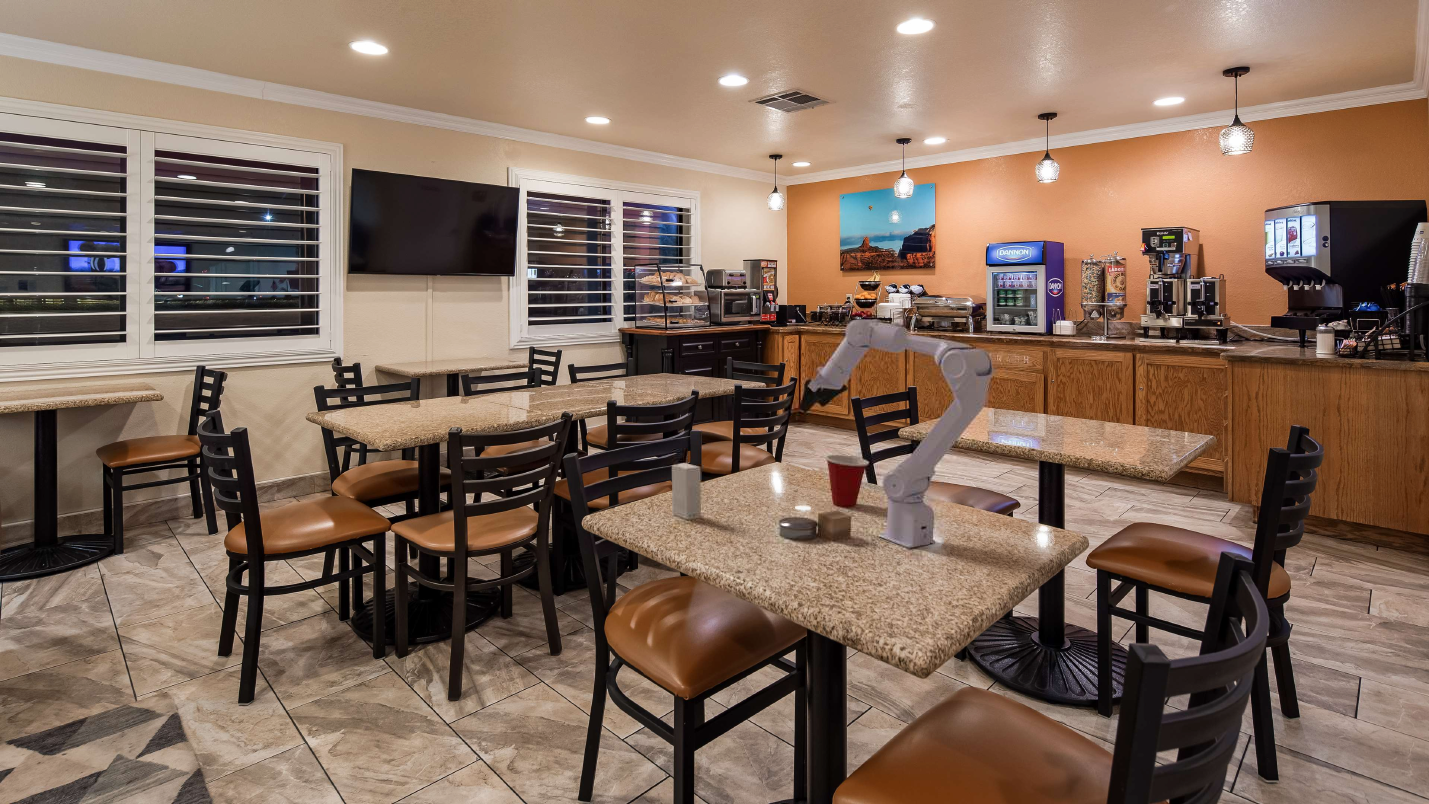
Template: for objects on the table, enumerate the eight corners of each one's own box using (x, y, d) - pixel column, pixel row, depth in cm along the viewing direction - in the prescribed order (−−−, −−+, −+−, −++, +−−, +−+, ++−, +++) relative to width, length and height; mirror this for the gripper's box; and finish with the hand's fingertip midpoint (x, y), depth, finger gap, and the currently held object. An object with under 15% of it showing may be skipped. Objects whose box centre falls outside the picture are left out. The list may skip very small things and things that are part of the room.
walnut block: (850, 538, 160) (851, 516, 160) (832, 542, 158) (833, 519, 157) (835, 532, 164) (836, 510, 164) (817, 535, 162) (818, 513, 161)
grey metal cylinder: (825, 538, 160) (825, 524, 160) (794, 544, 156) (794, 530, 156) (801, 528, 168) (801, 515, 167) (770, 533, 163) (771, 520, 163)
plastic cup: (870, 510, 183) (873, 462, 181) (826, 509, 183) (828, 461, 181) (863, 499, 194) (865, 454, 192) (821, 498, 194) (823, 453, 192)
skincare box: (701, 517, 174) (702, 466, 172) (686, 520, 171) (687, 468, 169) (685, 511, 179) (686, 462, 177) (670, 514, 176) (671, 464, 174)
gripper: (846, 348, 176) (816, 390, 183) (812, 356, 165) (782, 400, 172) (867, 368, 173) (836, 410, 180) (834, 377, 162) (803, 421, 169)
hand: (811, 406), depth 176 cm, fingers open, 7 cm apart
